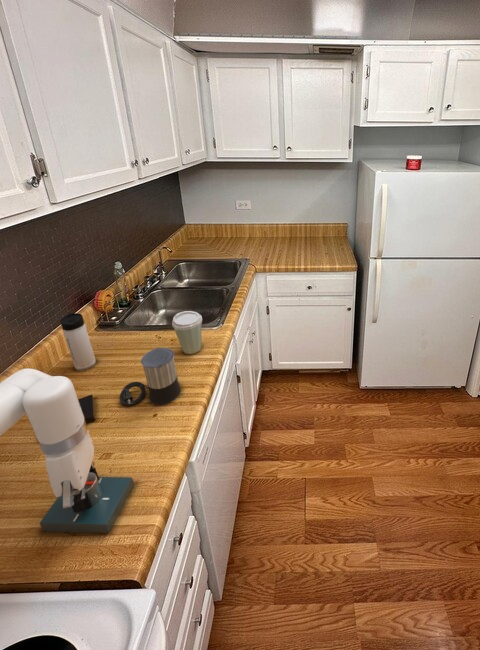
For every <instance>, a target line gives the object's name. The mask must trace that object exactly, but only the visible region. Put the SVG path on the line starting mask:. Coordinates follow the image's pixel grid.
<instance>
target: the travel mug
mask: <svg viewBox="0 0 480 650" xmlns="http://www.w3.org/2000/svg"><path fill="white" fill-rule="evenodd" d="M59 321H60V325H61V329H62V332H63V335H64V338H65V342H66V345H67V348H68V350H69V354H70V357H71V360H72V363H73V365H74V369H75V370H76V371H78V372H82V371H87V370H90V369H92V368H93V367H94V366H95V365H96V364H97V360H96V357H95V353H94V350H93V346H92V343H91V340H90V336H89V333H88V330H87V329H88V328H87V326H86V322H85V320H84V317H83V314H81V313H77V312H70V313H68V314H67V315H65V316H63V317H62V318H61V319H60V320H59Z"/></svg>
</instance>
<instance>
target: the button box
mask: <svg viewBox="0 0 480 650" xmlns="http://www.w3.org/2000/svg"><path fill="white" fill-rule="evenodd" d="M78 401H79V404H80V407H81V410H82V413H83V416H84V419H85V421H86V424H87V425H88V424H90V423H93V422H96V412H95V411H96V409H95V399H94V395H93V394H90V395H86V396H84V397H80V398H78Z"/></svg>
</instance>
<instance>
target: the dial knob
mask: <svg viewBox="0 0 480 650" xmlns="http://www.w3.org/2000/svg"><path fill="white" fill-rule="evenodd" d="M84 488H85V493H88V495H89V497H90V500H91V503H92V506H94V505H95V504H96V503H97V502H98V501H99V499H100V497H101V494H102V491H101V488H100V485H99V482H98V479H97V477H96V474H94V473H92V472H89V474H88V477H87V480H86V483H85V485H84ZM76 494H79V490H75V491H73V495H76ZM86 510H87V509H86Z"/></svg>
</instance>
